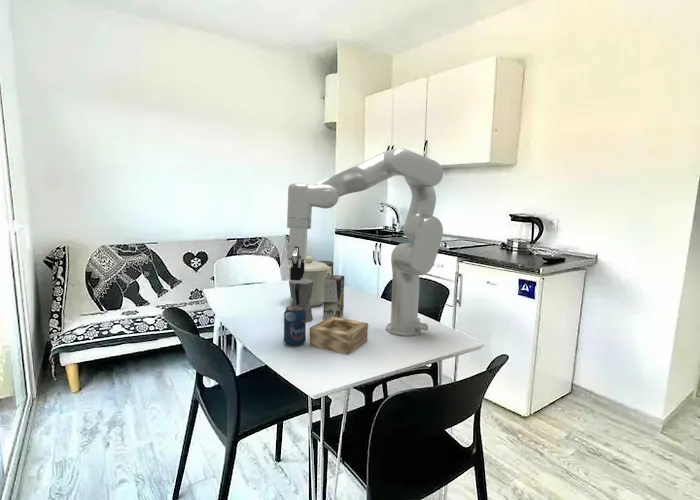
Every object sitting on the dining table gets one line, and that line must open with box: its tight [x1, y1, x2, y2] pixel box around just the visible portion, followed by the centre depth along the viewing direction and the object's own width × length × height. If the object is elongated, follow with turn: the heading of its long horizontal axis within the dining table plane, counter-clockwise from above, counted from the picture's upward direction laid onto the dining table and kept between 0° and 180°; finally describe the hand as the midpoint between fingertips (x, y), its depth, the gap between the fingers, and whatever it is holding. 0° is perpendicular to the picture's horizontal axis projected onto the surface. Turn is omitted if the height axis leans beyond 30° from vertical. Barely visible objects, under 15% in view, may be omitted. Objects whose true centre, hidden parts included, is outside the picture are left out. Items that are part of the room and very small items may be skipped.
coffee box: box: [322, 274, 345, 321], centre depth 162 cm, size 9×6×16 cm
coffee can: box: [316, 260, 334, 277], centre depth 205 cm, size 10×10×14 cm
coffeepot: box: [288, 274, 314, 323], centre depth 157 cm, size 15×9×18 cm, turn 176°
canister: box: [286, 255, 329, 307], centre depth 180 cm, size 18×18×21 cm
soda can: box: [283, 305, 307, 348], centre depth 134 cm, size 7×7×12 cm
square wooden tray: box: [309, 316, 369, 355], centre depth 136 cm, size 14×14×6 cm
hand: (297, 276), depth 133 cm, fingers open, 9 cm apart
